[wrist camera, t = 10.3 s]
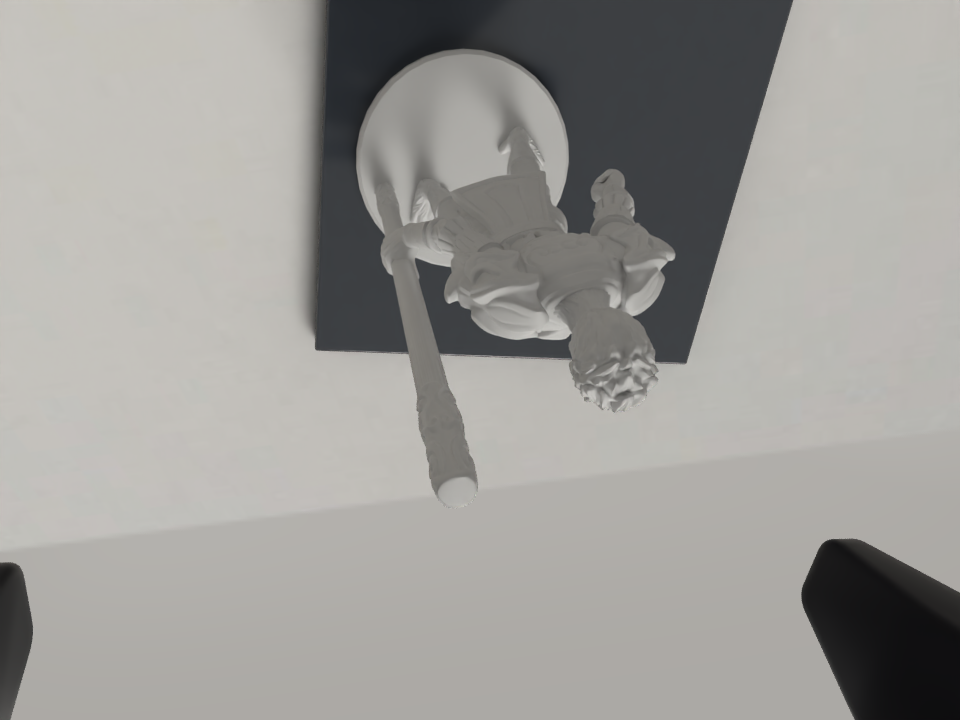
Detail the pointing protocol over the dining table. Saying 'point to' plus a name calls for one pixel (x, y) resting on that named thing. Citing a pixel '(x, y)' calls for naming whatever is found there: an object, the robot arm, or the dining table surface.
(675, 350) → the slate tile
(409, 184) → the figurine
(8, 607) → the robot arm
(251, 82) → the dining table surface
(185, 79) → the dining table surface
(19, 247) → the dining table surface
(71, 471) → the dining table surface
